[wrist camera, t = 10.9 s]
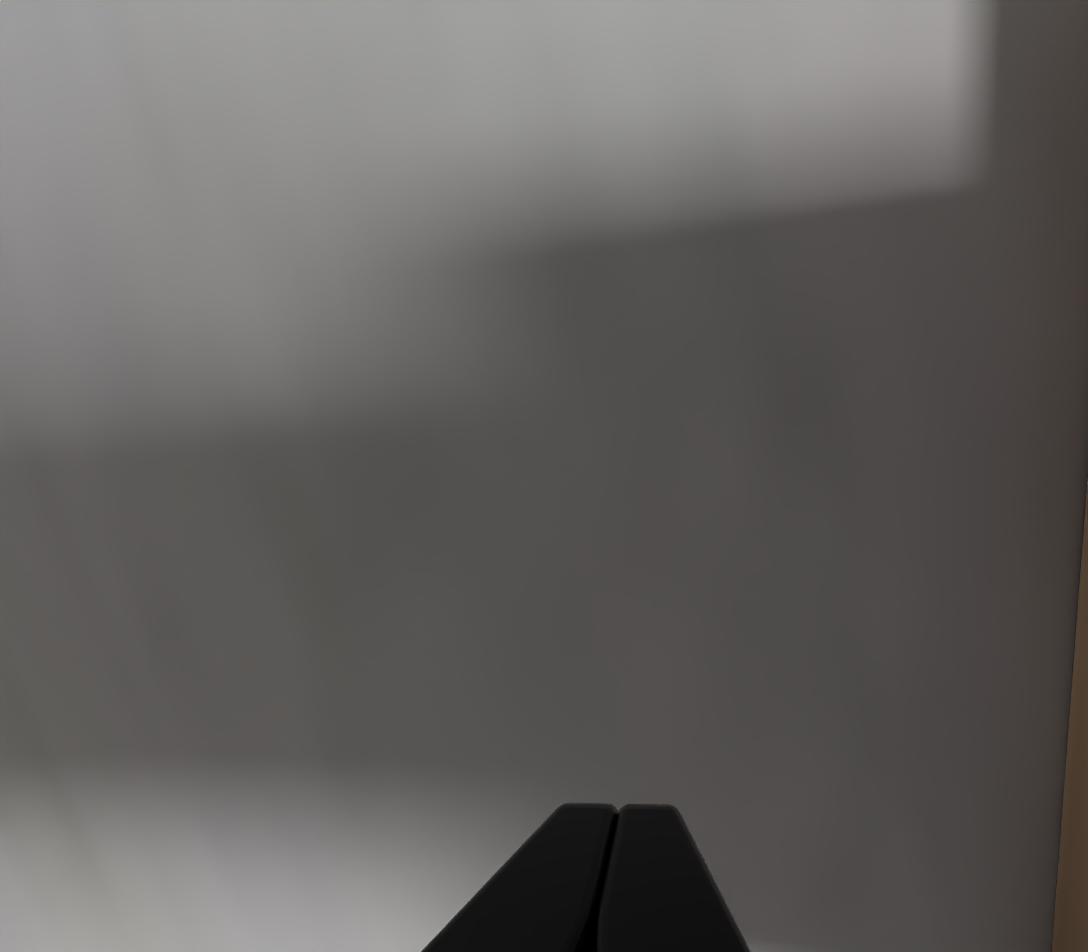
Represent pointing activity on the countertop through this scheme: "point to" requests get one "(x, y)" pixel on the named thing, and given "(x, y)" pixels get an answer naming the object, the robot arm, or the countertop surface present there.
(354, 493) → the countertop surface
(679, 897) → the robot arm
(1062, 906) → the shelf
